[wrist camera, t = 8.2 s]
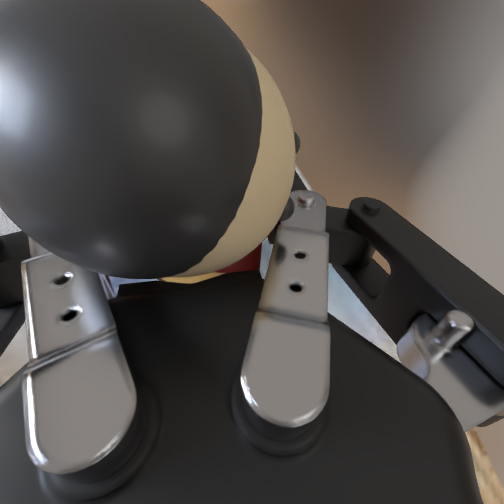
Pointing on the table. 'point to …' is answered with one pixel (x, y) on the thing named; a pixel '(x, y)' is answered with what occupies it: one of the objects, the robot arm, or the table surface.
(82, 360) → the robot arm
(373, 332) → the table surface
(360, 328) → the table surface
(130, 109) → the doll
